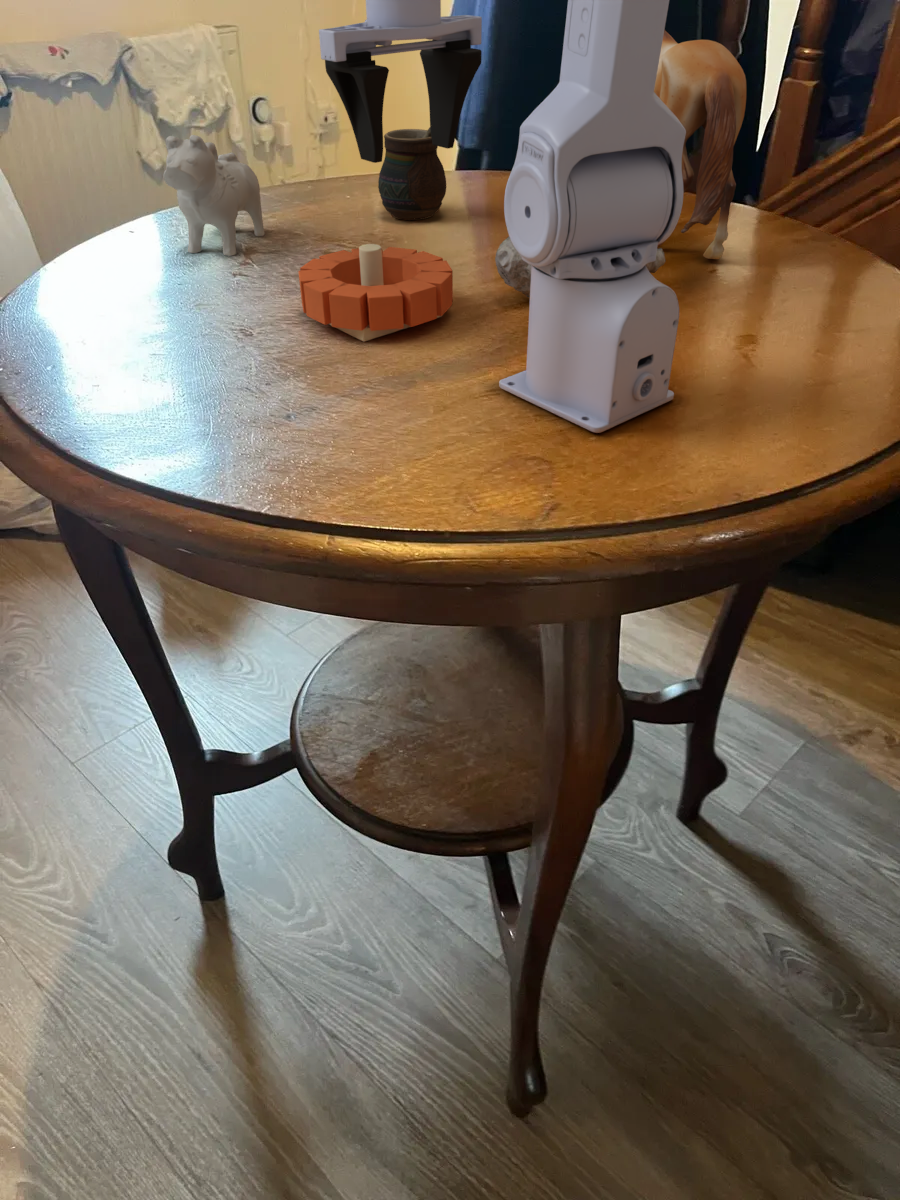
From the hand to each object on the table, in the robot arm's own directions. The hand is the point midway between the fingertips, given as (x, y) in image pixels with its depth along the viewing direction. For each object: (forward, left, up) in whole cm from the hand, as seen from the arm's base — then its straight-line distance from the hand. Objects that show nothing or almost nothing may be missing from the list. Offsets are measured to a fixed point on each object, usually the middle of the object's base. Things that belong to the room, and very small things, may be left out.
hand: (408, 153), depth 75 cm
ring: (-5, +8, -9) cm, 13 cm away
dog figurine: (+20, +8, -11) cm, 24 cm away
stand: (-5, +8, -10) cm, 14 cm away
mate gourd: (+16, -13, -11) cm, 23 cm away
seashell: (-13, -8, -11) cm, 19 cm away
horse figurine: (-5, -24, -11) cm, 27 cm away
